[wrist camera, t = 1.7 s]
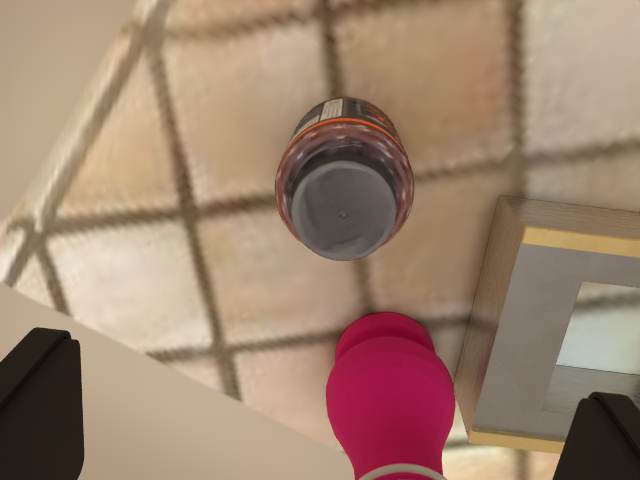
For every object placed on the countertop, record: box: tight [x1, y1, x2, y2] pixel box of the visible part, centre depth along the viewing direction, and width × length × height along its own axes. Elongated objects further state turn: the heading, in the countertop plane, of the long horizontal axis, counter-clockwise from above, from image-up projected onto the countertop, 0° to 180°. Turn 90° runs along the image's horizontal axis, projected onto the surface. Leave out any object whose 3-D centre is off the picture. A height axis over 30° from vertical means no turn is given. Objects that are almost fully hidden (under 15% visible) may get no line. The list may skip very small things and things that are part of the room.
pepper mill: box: [326, 313, 455, 480], centre depth 28 cm, size 7×7×20 cm
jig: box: [453, 195, 640, 454], centre depth 33 cm, size 15×13×5 cm
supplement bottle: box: [275, 97, 414, 261], centre depth 27 cm, size 6×6×11 cm
